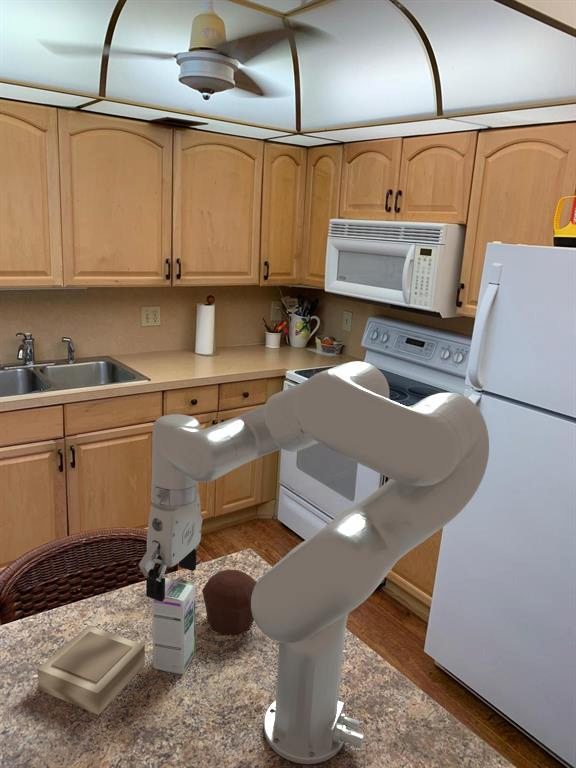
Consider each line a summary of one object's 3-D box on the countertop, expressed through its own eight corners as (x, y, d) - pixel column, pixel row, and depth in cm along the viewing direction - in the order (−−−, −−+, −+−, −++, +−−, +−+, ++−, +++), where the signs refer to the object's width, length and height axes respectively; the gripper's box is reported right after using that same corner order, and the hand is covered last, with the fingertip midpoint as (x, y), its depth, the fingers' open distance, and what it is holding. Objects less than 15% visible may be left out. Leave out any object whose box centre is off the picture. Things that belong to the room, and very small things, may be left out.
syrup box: (183, 675, 98) (185, 601, 94) (151, 669, 99) (151, 595, 96) (195, 653, 103) (197, 581, 100) (164, 647, 104) (165, 576, 101)
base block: (144, 664, 100) (144, 643, 99) (98, 715, 89) (98, 692, 88) (89, 644, 104) (88, 624, 103) (38, 689, 93) (37, 667, 92)
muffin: (190, 616, 113) (191, 571, 111) (236, 596, 120) (238, 554, 118) (224, 650, 105) (225, 601, 102) (271, 626, 112) (274, 581, 109)
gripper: (164, 518, 84) (161, 618, 89) (220, 476, 100) (216, 563, 104) (122, 506, 87) (121, 604, 91) (183, 467, 103) (180, 552, 107)
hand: (172, 582), depth 98 cm, fingers open, 9 cm apart
